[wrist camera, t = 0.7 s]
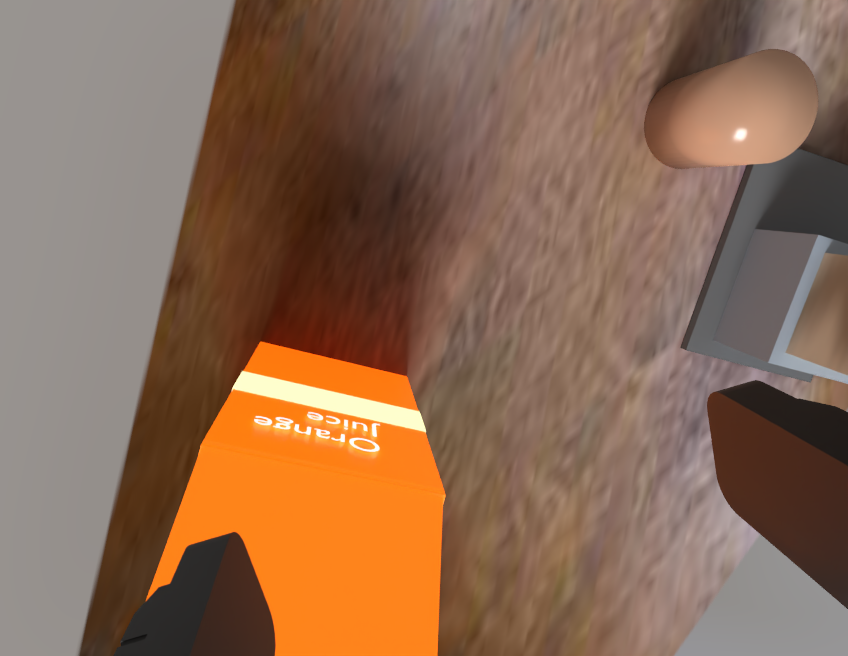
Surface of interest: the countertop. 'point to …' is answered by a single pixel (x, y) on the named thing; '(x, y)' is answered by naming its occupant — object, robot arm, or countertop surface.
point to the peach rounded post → (734, 113)
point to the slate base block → (775, 297)
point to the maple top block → (825, 318)
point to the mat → (777, 211)
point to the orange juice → (324, 504)
